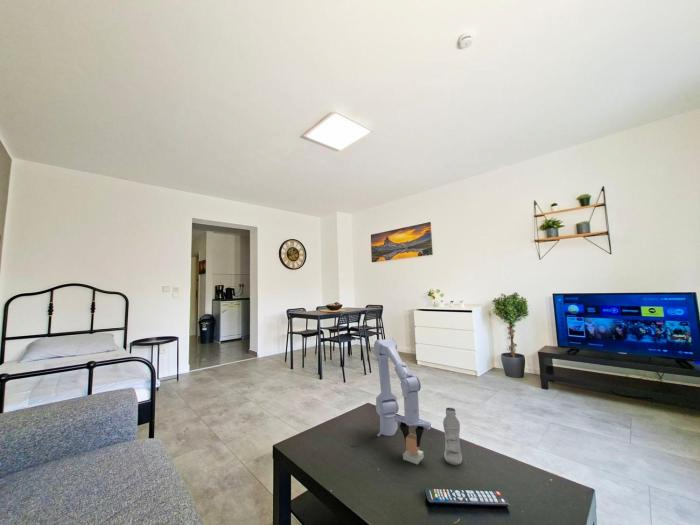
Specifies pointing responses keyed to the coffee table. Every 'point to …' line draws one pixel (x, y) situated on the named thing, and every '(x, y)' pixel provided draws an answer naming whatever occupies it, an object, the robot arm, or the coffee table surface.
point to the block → (411, 443)
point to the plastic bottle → (452, 438)
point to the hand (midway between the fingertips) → (412, 444)
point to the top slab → (413, 456)
